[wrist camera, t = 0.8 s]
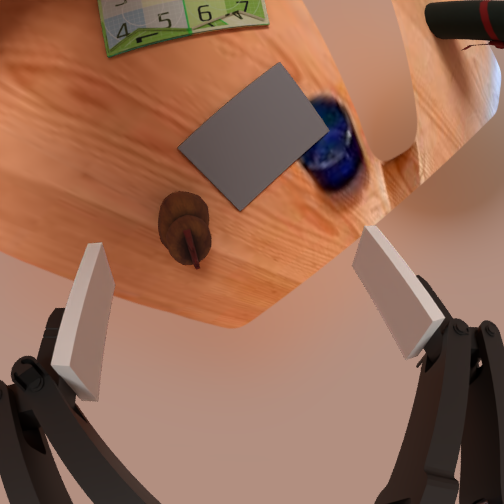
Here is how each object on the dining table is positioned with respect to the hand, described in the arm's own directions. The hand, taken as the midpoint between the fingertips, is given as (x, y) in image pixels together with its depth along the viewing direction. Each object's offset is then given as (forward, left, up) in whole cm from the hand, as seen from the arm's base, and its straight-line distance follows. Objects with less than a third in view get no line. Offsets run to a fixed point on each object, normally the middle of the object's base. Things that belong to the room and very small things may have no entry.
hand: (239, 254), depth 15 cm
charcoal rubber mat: (-5, +9, -25) cm, 27 cm away
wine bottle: (-38, +39, -25) cm, 59 cm away
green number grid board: (-21, -4, -26) cm, 33 cm away
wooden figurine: (+6, +1, -25) cm, 26 cm away
